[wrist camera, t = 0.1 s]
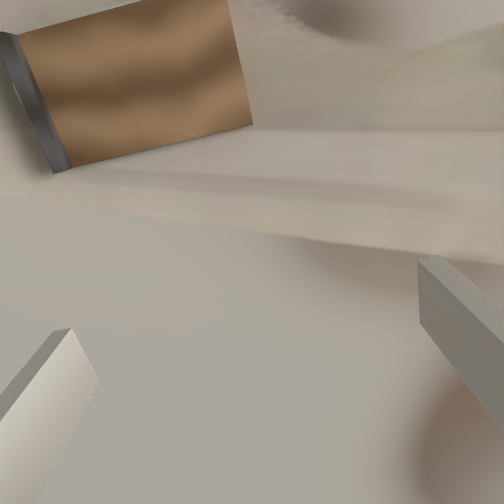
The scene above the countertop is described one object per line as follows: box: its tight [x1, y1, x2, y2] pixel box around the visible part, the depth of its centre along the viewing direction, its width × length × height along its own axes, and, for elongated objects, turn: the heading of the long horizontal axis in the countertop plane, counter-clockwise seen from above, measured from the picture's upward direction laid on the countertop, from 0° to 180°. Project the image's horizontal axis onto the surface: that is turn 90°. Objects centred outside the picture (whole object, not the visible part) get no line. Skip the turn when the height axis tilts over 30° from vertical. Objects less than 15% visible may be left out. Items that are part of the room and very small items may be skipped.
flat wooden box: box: [0, 0, 253, 174], centre depth 34 cm, size 12×20×4 cm, turn 103°
